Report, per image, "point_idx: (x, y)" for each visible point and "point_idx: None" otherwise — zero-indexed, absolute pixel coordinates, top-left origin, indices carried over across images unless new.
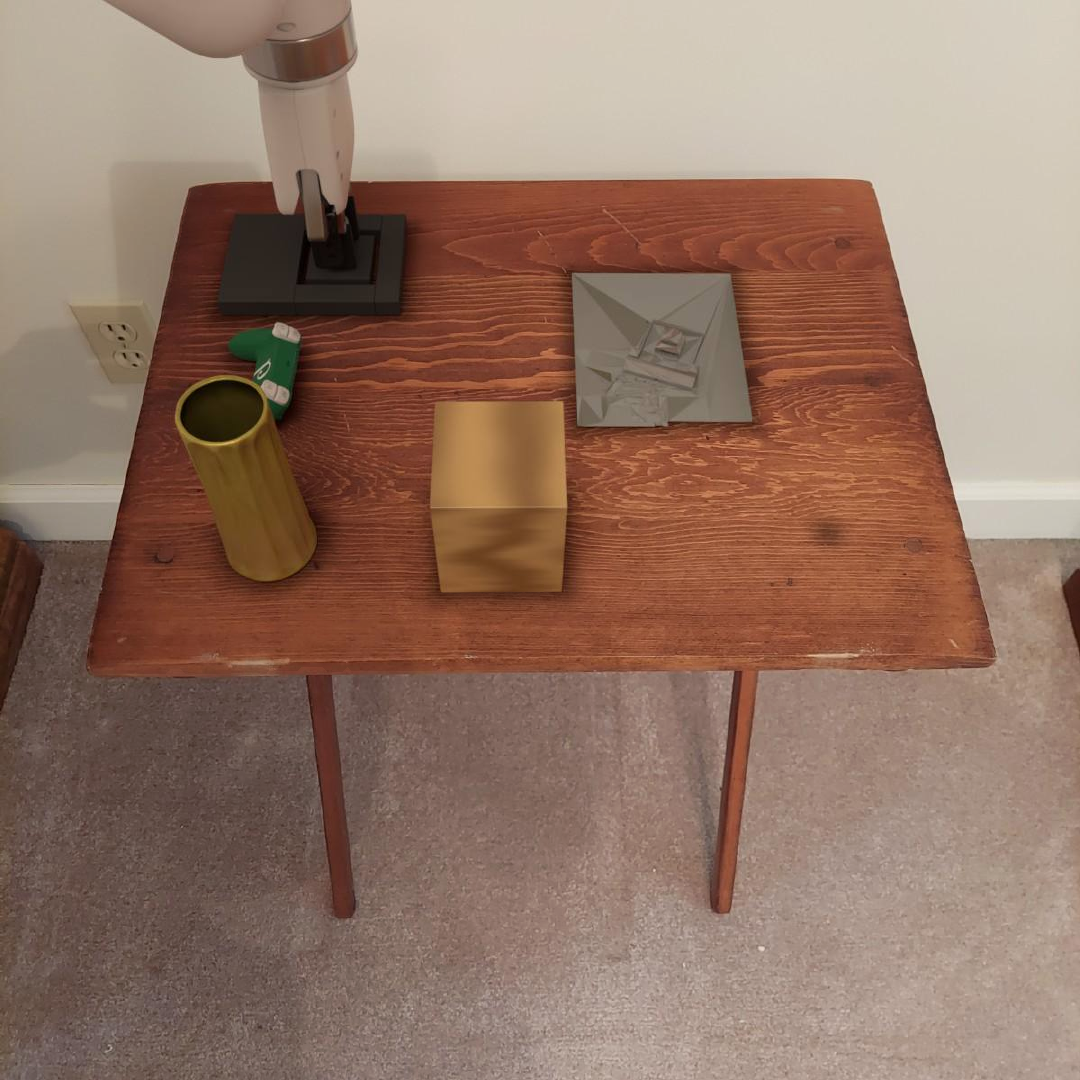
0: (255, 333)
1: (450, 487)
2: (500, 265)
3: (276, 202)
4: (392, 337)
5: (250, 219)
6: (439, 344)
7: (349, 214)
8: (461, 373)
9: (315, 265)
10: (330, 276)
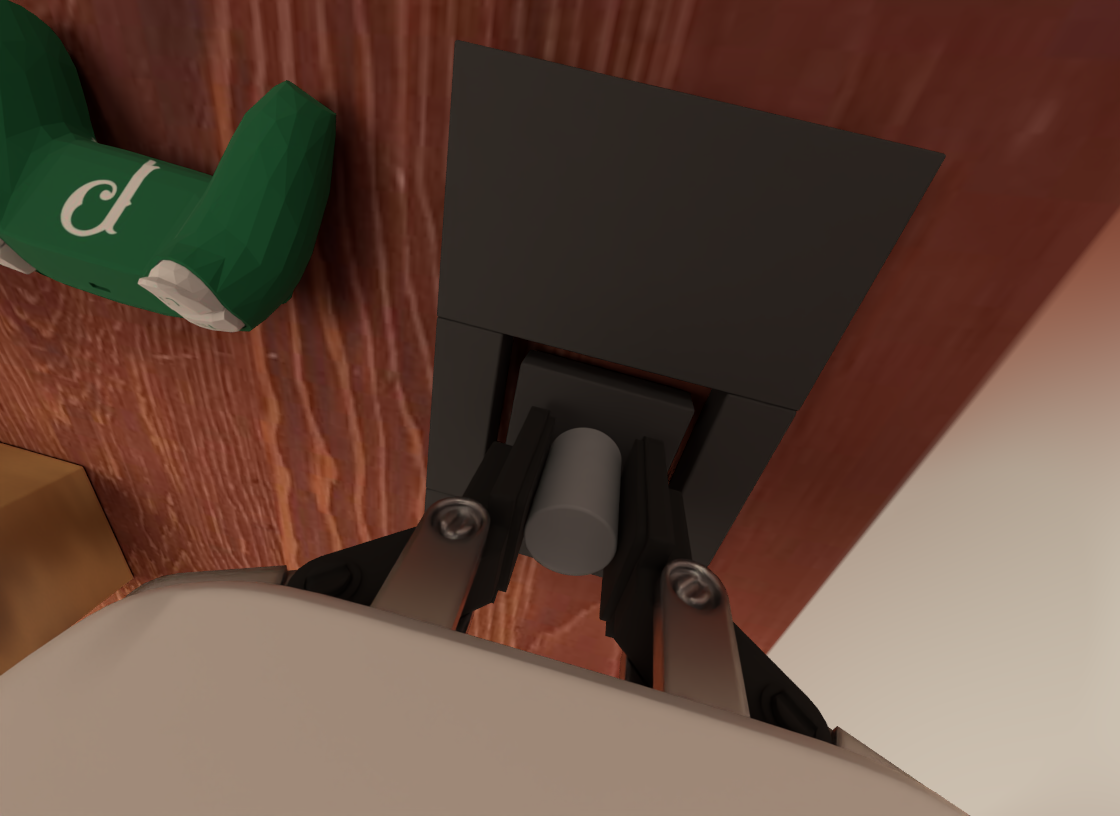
0: (234, 193)
1: None
2: (539, 649)
3: (16, 675)
4: (386, 474)
5: (871, 222)
6: (370, 534)
7: (604, 578)
8: (310, 543)
9: (532, 406)
10: (517, 422)
